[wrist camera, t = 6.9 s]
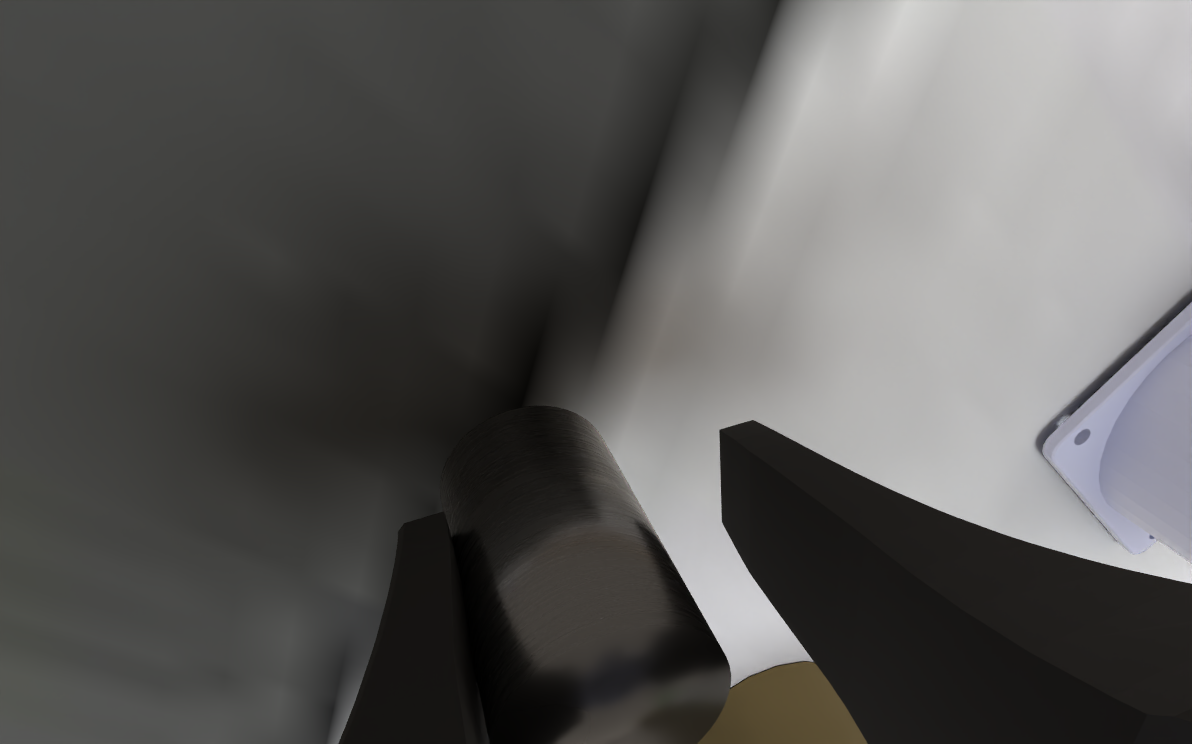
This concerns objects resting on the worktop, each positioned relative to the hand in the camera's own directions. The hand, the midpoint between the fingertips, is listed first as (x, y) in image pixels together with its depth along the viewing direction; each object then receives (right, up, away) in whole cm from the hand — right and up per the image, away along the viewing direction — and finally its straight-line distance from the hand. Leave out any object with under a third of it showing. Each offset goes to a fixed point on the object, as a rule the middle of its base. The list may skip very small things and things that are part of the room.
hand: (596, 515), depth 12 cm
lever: (-2, -7, +6) cm, 9 cm away
